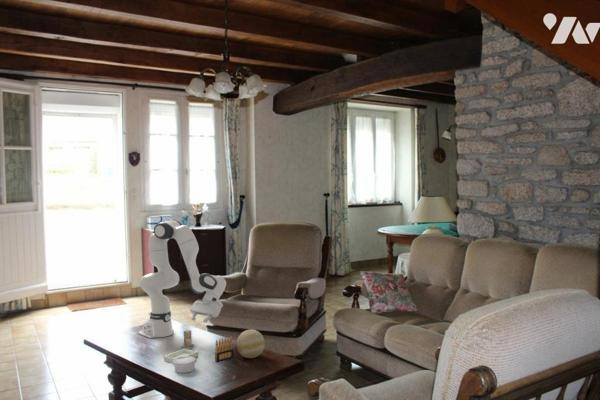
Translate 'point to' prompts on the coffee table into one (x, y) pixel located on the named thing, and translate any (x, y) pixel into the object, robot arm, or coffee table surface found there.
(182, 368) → the ramekin
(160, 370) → the coffee table surface
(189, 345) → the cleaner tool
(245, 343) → the decorative ball
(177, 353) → the tray
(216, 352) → the ammunition clip
